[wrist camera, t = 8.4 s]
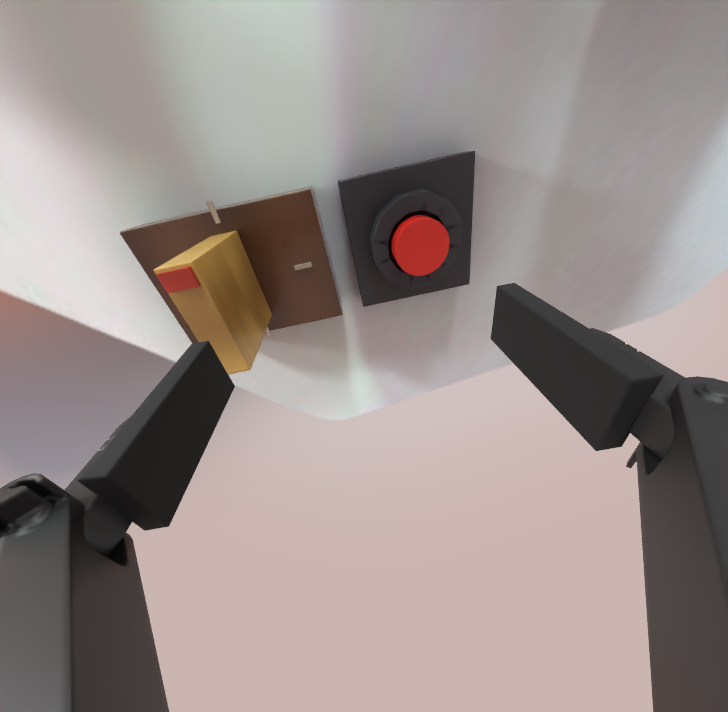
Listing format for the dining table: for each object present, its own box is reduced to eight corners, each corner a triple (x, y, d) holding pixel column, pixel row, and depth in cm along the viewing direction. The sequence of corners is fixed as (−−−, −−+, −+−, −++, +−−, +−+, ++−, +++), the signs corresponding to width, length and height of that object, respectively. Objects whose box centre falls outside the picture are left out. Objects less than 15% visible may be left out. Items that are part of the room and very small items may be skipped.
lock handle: (272, 314, 24) (249, 372, 17) (250, 319, 24) (219, 378, 17) (237, 230, 20) (189, 262, 13) (210, 236, 20) (149, 271, 13)
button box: (361, 297, 27) (365, 315, 24) (337, 180, 21) (338, 183, 18) (460, 276, 27) (478, 291, 24) (462, 152, 21) (487, 149, 18)
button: (394, 273, 22) (398, 280, 21) (387, 221, 20) (392, 225, 19) (442, 263, 22) (449, 270, 21) (441, 209, 20) (449, 212, 19)
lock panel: (209, 335, 28) (197, 353, 25) (137, 216, 21) (110, 223, 19) (343, 307, 28) (344, 321, 25) (310, 177, 21) (307, 178, 19)
